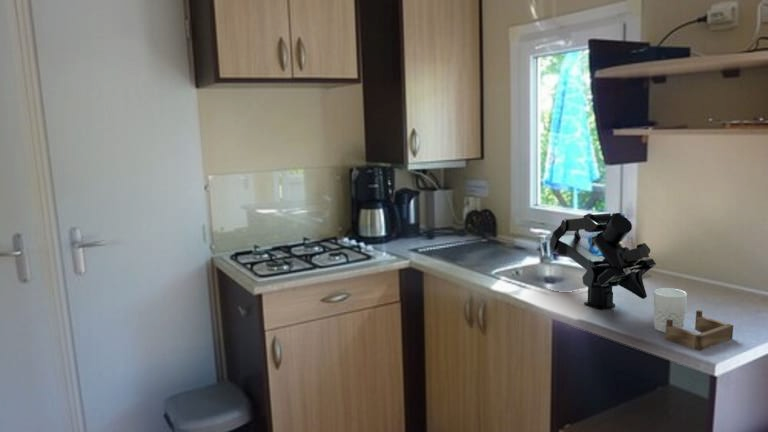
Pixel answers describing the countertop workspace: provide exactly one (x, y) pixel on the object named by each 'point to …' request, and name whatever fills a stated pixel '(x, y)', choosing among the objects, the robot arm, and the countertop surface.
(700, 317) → the rack
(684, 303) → the white cup
